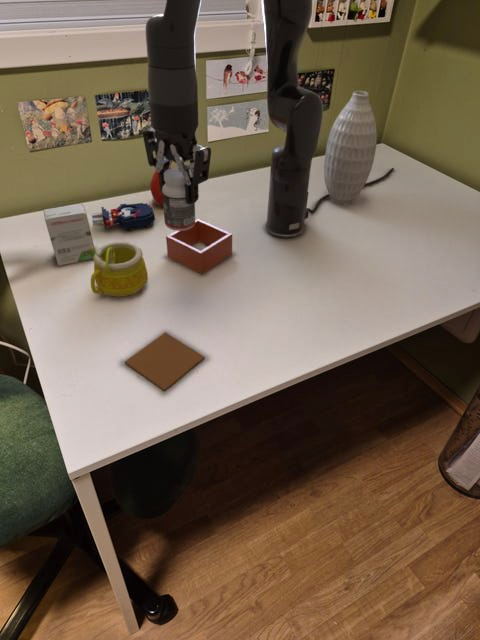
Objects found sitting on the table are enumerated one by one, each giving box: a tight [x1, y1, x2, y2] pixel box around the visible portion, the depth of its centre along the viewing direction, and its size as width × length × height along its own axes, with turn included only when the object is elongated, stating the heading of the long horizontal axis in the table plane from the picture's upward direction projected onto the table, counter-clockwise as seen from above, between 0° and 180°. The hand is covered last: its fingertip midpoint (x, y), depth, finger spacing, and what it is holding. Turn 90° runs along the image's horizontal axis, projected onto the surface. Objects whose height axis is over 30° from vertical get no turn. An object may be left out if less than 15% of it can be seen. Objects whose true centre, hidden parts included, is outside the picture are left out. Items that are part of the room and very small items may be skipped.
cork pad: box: [124, 332, 206, 392], centre depth 83 cm, size 10×10×1 cm
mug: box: [90, 241, 148, 297], centre depth 95 cm, size 13×11×12 cm
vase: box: [323, 90, 378, 205], centre depth 122 cm, size 13×13×28 cm
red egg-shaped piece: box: [149, 166, 173, 207], centre depth 124 cm, size 8×8×11 cm
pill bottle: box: [162, 167, 196, 232], centre depth 84 cm, size 6×6×10 cm
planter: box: [165, 218, 233, 275], centre depth 107 cm, size 11×11×6 cm
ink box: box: [43, 203, 96, 267], centre depth 103 cm, size 9×5×12 cm, turn 113°
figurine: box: [91, 202, 156, 232], centre depth 117 cm, size 9×4×15 cm
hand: (178, 196), depth 83 cm, fingers closed on pill bottle, 5 cm apart
